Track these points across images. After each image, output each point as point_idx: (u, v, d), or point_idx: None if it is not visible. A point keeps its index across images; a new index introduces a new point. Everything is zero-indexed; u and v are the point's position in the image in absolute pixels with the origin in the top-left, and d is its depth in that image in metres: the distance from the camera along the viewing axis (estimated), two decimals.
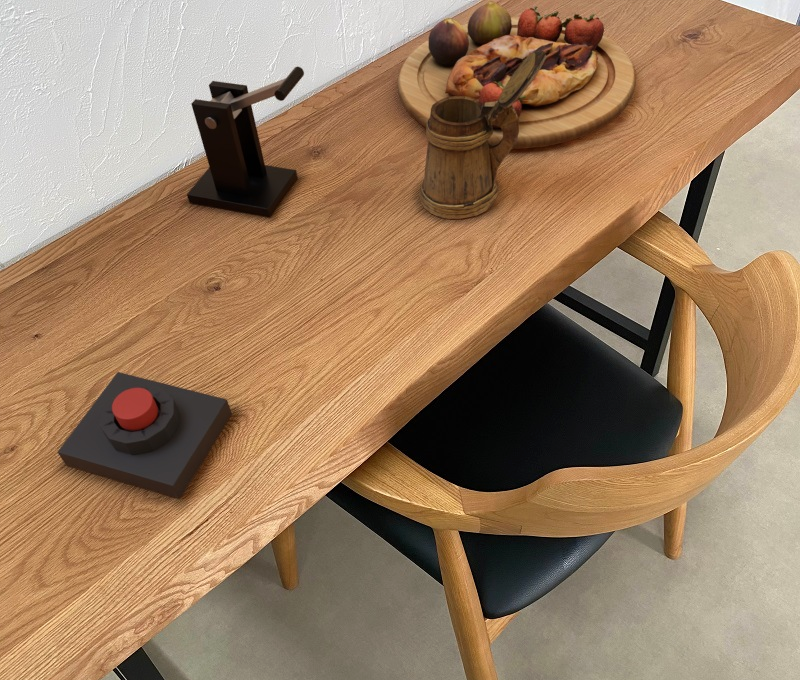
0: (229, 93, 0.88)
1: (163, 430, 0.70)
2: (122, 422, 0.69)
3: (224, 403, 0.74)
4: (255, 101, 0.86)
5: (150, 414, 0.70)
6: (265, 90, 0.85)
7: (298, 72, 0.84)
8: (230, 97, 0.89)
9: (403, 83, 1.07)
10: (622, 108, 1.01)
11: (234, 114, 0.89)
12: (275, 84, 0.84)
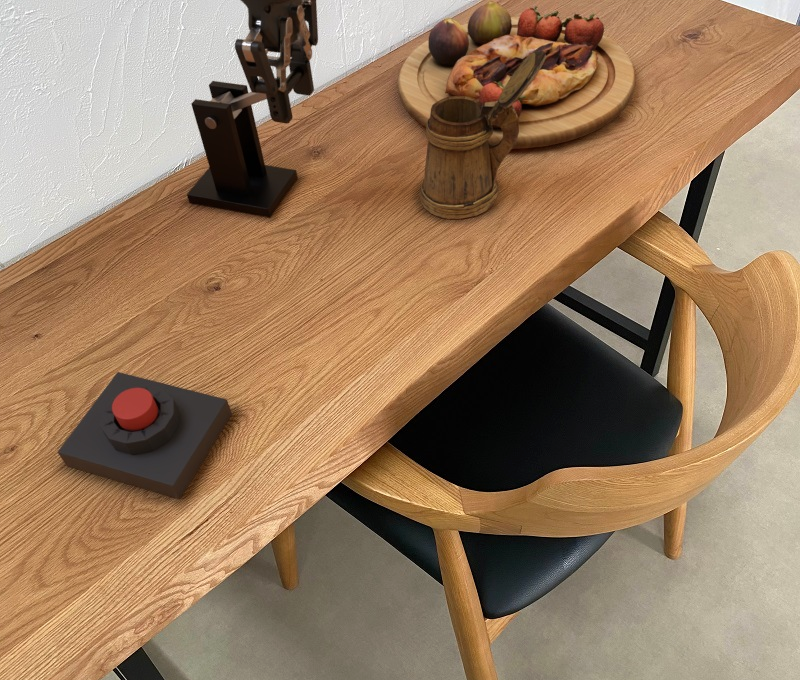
0: (229, 93, 0.88)
1: (163, 430, 0.70)
2: (122, 422, 0.69)
3: (224, 403, 0.74)
4: (255, 101, 0.86)
5: (150, 414, 0.70)
6: None
7: (298, 72, 0.84)
8: (230, 97, 0.89)
9: (403, 83, 1.07)
10: (622, 108, 1.01)
11: (234, 114, 0.89)
12: None
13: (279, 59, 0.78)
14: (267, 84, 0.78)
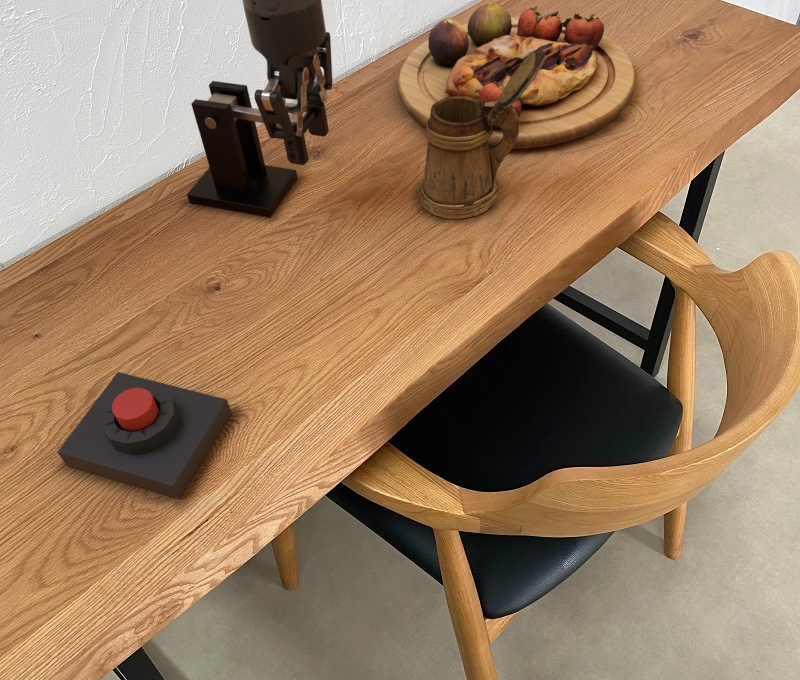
0: (235, 98, 0.89)
1: (163, 430, 0.70)
2: (122, 422, 0.69)
3: (224, 403, 0.74)
4: (262, 121, 0.88)
5: (150, 414, 0.70)
6: None
7: (314, 115, 0.88)
8: (235, 102, 0.89)
9: (403, 83, 1.07)
10: (622, 108, 1.01)
11: None
12: (290, 118, 0.87)
13: (296, 106, 0.82)
14: (284, 130, 0.81)
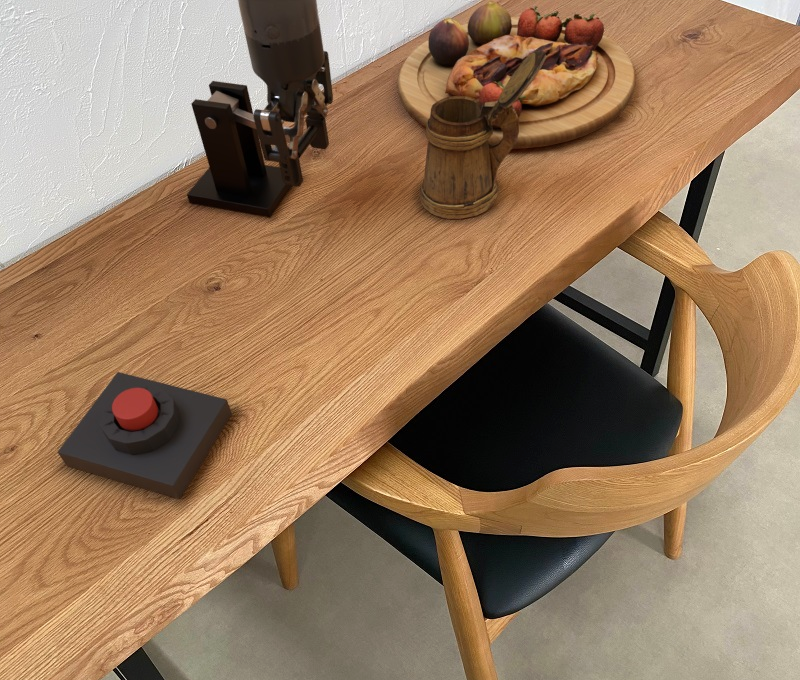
0: (237, 101, 0.89)
1: (163, 430, 0.70)
2: (122, 422, 0.69)
3: (224, 403, 0.74)
4: None
5: (150, 414, 0.70)
6: None
7: (314, 134, 0.90)
8: (236, 105, 0.89)
9: (403, 83, 1.07)
10: (622, 108, 1.01)
11: None
12: None
13: (293, 129, 0.84)
14: (280, 152, 0.83)
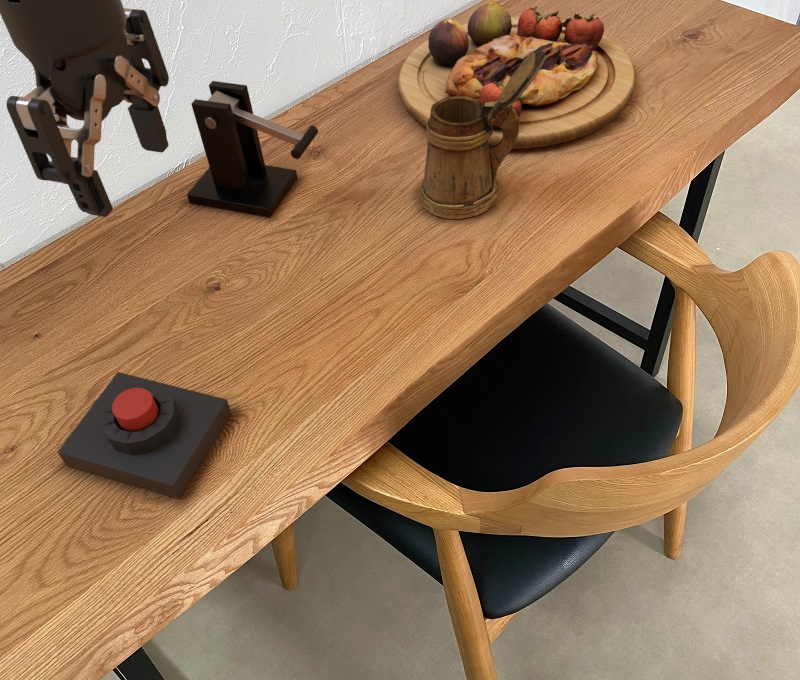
0: (237, 101, 0.89)
1: (163, 430, 0.70)
2: (122, 422, 0.69)
3: (224, 403, 0.74)
4: (262, 130, 0.89)
5: (150, 414, 0.70)
6: (280, 132, 0.88)
7: (314, 134, 0.90)
8: (236, 105, 0.89)
9: (403, 83, 1.07)
10: (622, 108, 1.01)
11: None
12: (291, 134, 0.89)
13: (82, 130, 0.55)
14: (56, 165, 0.53)
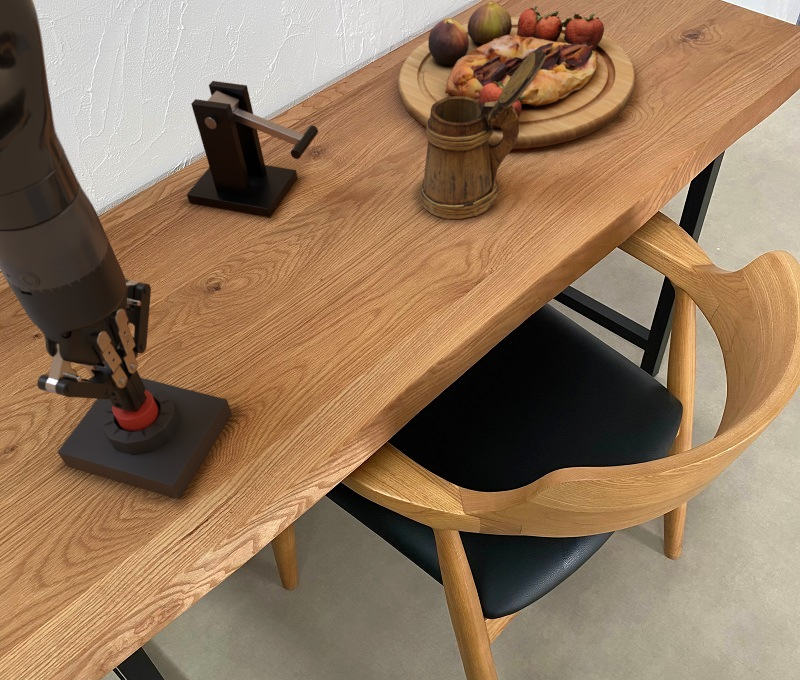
0: (237, 101, 0.89)
1: (163, 430, 0.70)
2: (123, 422, 0.69)
3: (224, 403, 0.74)
4: (262, 130, 0.89)
5: (150, 415, 0.70)
6: (280, 132, 0.88)
7: (314, 134, 0.90)
8: (236, 105, 0.89)
9: (403, 83, 1.07)
10: (622, 108, 1.01)
11: None
12: (291, 134, 0.89)
13: (106, 368, 0.63)
14: (95, 398, 0.63)
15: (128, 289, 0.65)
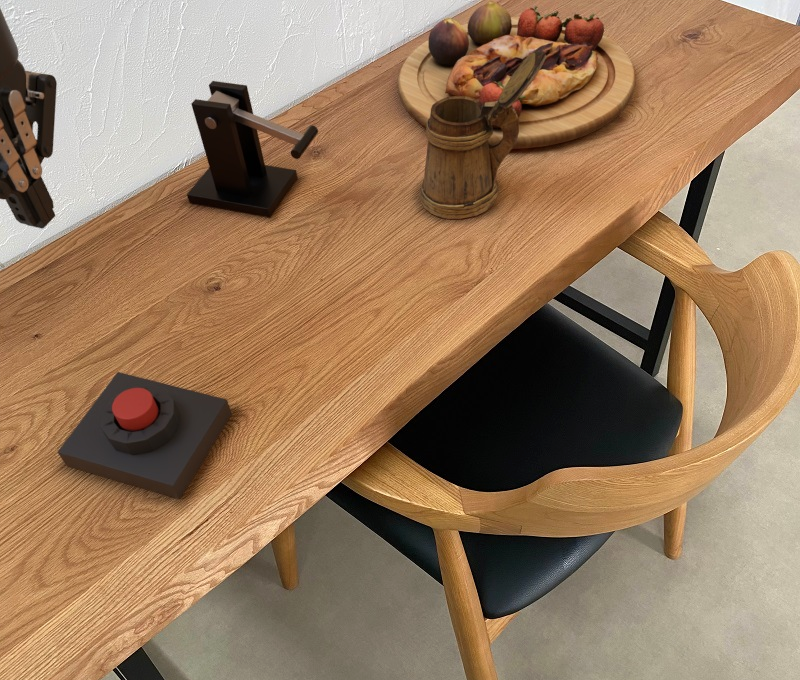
0: (237, 101, 0.89)
1: (163, 430, 0.70)
2: (122, 422, 0.69)
3: (224, 403, 0.74)
4: (262, 130, 0.89)
5: (150, 414, 0.70)
6: (280, 132, 0.88)
7: (314, 134, 0.90)
8: (236, 105, 0.89)
9: (403, 83, 1.07)
10: (622, 108, 1.01)
11: None
12: (291, 134, 0.89)
13: (0, 161, 0.56)
14: None
15: (28, 77, 0.58)
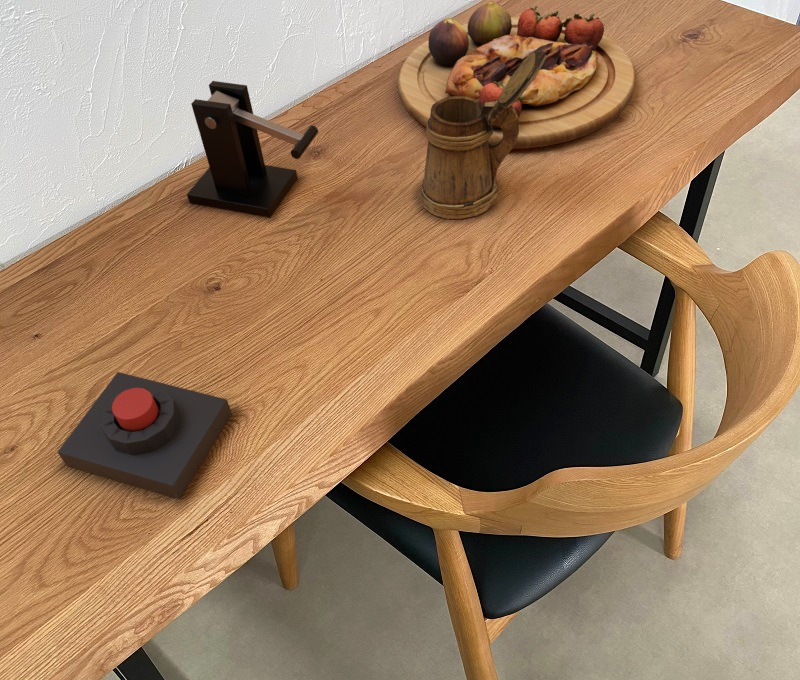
0: (237, 101, 0.89)
1: (163, 430, 0.70)
2: (122, 422, 0.69)
3: (224, 403, 0.74)
4: (262, 130, 0.89)
5: (150, 414, 0.70)
6: (280, 132, 0.88)
7: (314, 134, 0.90)
8: (236, 105, 0.89)
9: (403, 83, 1.07)
10: (622, 108, 1.01)
11: None
12: (291, 134, 0.89)
13: None
14: None
15: None
